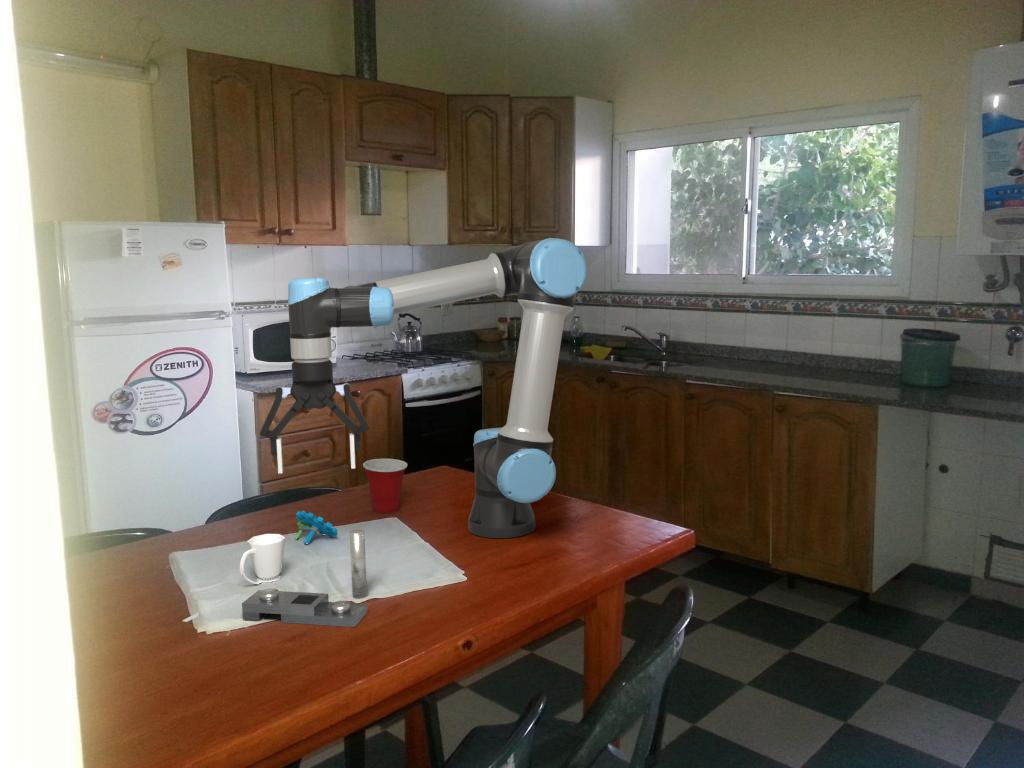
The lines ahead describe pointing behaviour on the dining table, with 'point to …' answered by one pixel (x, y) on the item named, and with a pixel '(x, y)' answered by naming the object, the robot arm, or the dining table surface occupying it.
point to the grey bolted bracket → (302, 608)
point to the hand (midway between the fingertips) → (317, 469)
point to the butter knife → (215, 606)
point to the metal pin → (358, 563)
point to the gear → (313, 526)
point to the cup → (265, 557)
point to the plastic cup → (385, 483)
